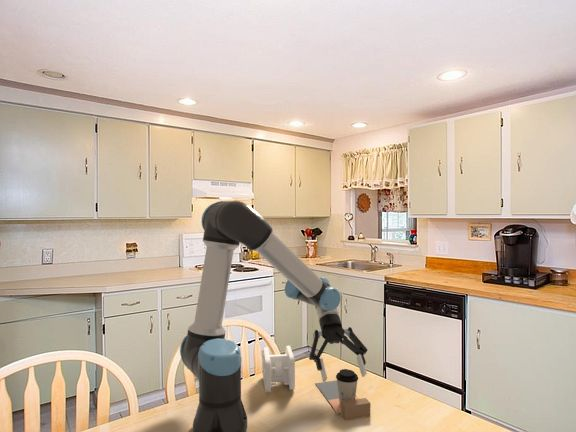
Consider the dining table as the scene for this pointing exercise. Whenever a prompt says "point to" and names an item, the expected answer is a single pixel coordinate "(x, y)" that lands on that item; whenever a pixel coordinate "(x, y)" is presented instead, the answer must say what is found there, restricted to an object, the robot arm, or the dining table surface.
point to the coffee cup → (346, 385)
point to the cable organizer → (278, 368)
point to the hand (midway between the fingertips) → (345, 377)
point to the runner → (329, 389)
